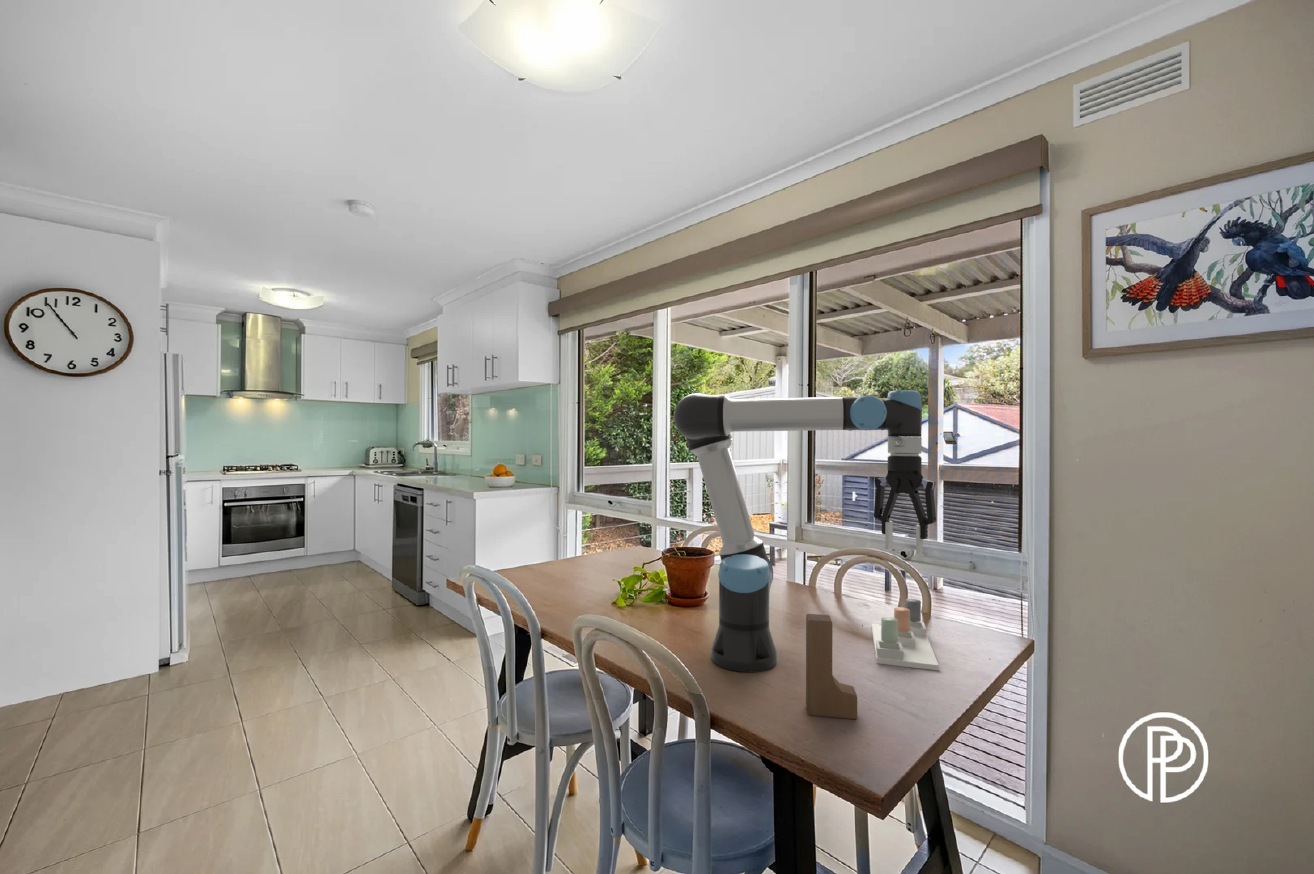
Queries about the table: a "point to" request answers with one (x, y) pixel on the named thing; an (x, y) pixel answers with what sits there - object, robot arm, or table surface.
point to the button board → (905, 648)
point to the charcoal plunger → (914, 609)
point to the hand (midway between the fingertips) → (903, 550)
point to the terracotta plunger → (902, 618)
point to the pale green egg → (889, 629)
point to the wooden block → (825, 674)
